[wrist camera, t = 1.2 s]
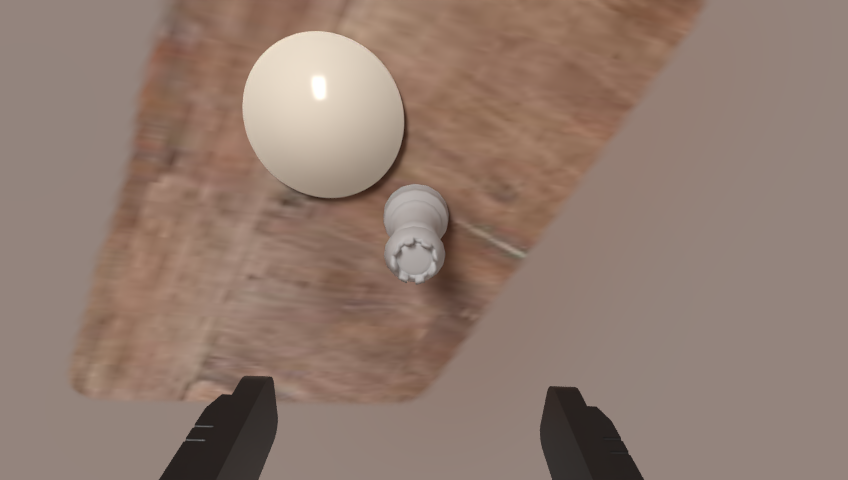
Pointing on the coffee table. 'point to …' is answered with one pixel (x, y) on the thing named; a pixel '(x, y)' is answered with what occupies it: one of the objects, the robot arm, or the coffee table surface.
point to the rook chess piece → (415, 232)
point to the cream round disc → (323, 114)
